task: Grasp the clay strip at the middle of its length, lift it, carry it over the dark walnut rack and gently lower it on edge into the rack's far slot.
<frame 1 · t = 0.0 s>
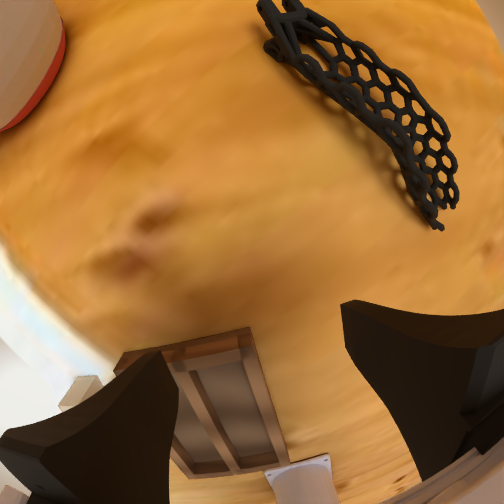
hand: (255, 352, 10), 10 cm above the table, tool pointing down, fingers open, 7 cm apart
clay strip: (115, 418, 22), on the table
rack: (213, 411, 22), on the table
decorative element: (358, 115, 19), on the table
citrus juicer: (24, 69, 14), on the table
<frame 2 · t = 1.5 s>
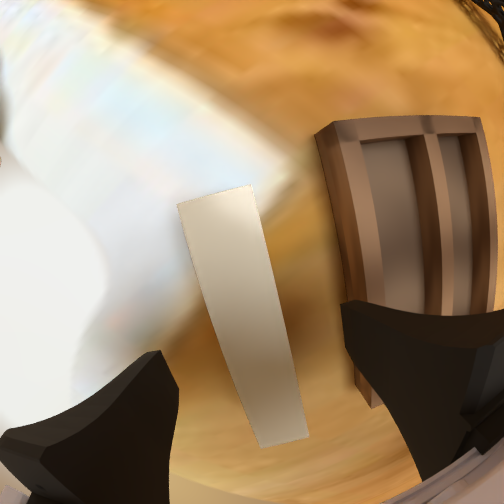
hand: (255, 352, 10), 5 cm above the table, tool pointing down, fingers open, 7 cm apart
clay strip: (248, 304, 15), on the table
rack: (419, 254, 15), on the table
decorative element: (467, 10, 11), on the table
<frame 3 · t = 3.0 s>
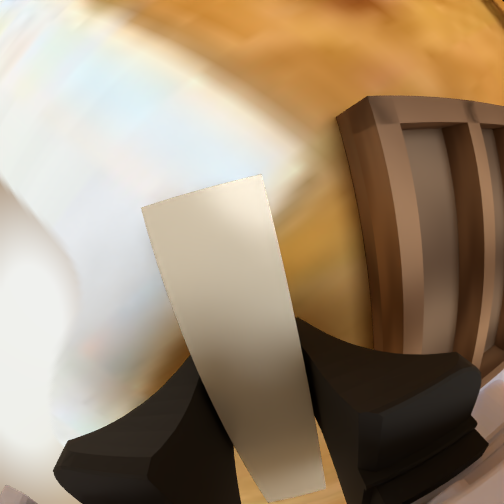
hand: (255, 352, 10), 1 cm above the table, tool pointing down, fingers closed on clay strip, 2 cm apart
clay strip: (252, 334, 11), on the table, touching gripper
rack: (453, 265, 12), on the table
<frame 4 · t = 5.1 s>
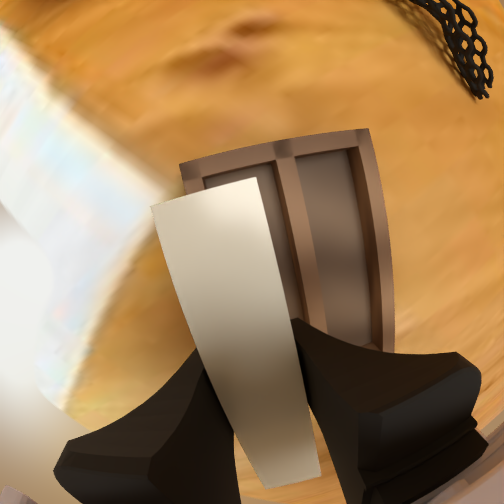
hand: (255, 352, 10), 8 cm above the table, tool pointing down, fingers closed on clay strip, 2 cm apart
clay strip: (250, 326, 12), point 6 cm above the table, touching gripper
rack: (299, 268, 18), on the table
decorative element: (406, 9, 15), on the table
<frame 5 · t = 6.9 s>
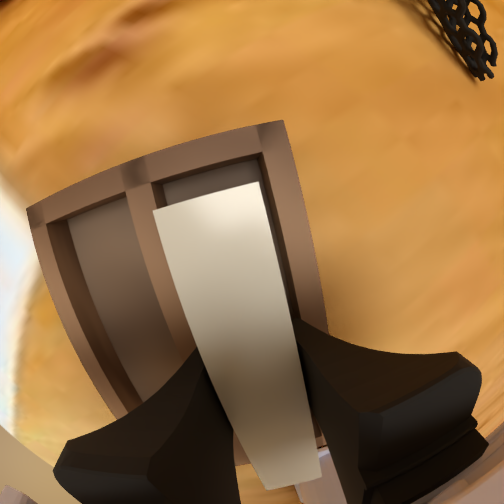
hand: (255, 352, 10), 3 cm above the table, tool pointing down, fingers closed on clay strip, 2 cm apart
clay strip: (251, 328, 12), point 1 cm above the table, touching gripper, rack
rack: (200, 329, 13), on the table
when the fingers open (3 cm above the table, at t = 7.5 s): clay strip stays where it is, resting on rack.
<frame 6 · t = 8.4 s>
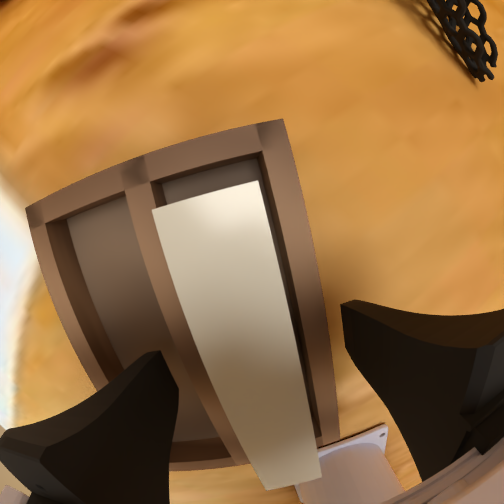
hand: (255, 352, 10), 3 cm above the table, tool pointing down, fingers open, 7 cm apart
clay strip: (251, 328, 12), point 1 cm above the table, touching rack
rack: (200, 329, 13), on the table
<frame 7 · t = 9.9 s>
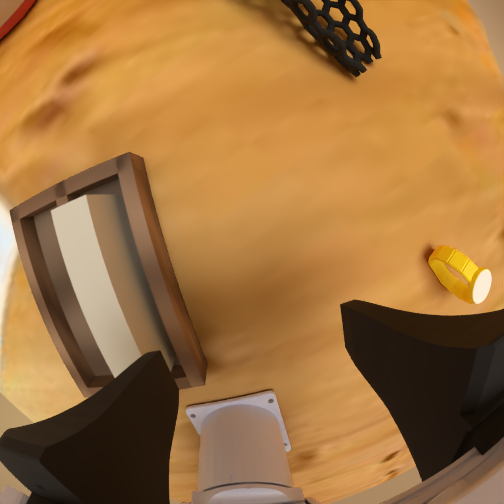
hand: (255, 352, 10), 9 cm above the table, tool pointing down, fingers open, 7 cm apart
clay strip: (131, 284, 18), point 1 cm above the table, touching rack
rack: (107, 286, 18), on the table
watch: (437, 267, 21), on the table
citrus juicer: (12, 8, 11), on the table
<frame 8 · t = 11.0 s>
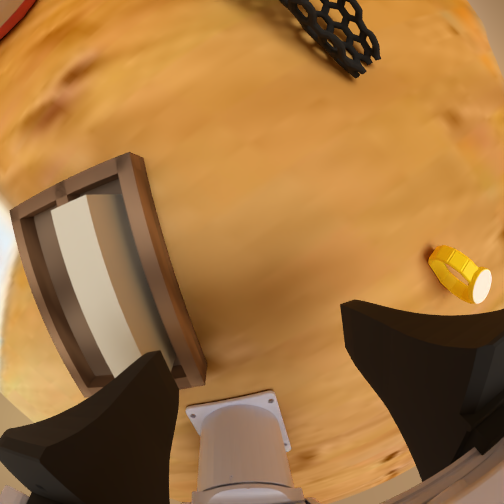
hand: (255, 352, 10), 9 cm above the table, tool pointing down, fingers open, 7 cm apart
clay strip: (131, 284, 18), point 1 cm above the table, touching rack
rack: (107, 286, 18), on the table
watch: (437, 267, 21), on the table
citrus juicer: (12, 8, 11), on the table
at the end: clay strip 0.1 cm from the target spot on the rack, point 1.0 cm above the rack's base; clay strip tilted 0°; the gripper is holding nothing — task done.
